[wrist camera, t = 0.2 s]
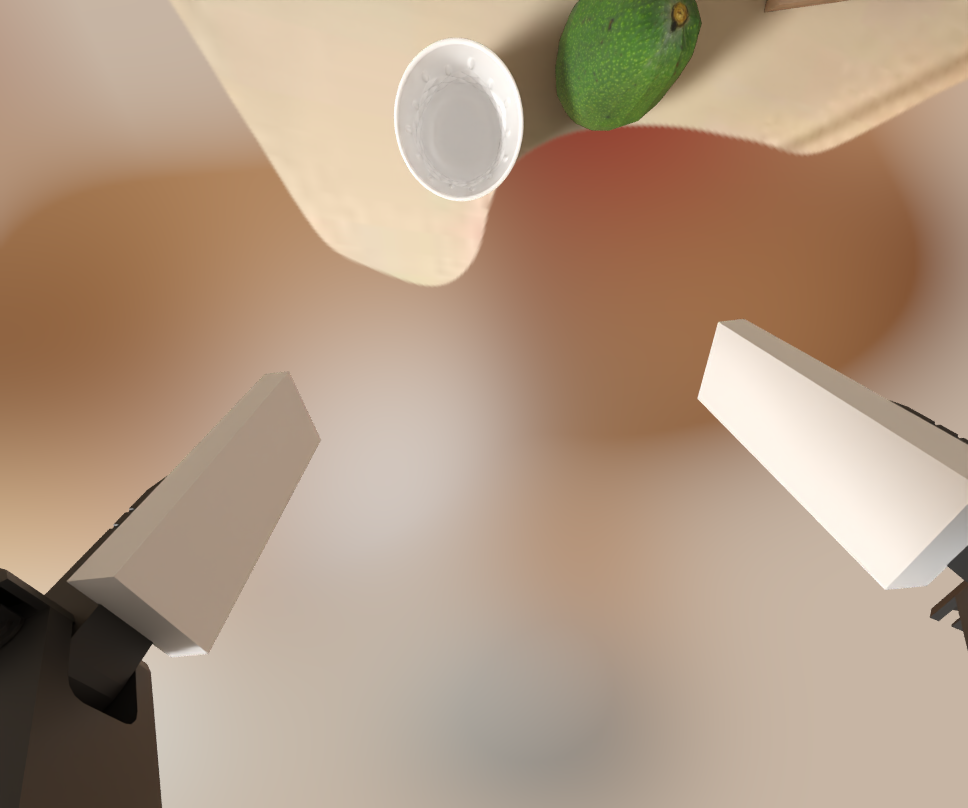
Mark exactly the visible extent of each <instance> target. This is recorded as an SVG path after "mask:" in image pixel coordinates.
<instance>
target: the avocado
mask: <svg viewBox="0 0 968 808" xmlns="http://www.w3.org/2000/svg"><path fill="white" fill-rule="evenodd" d="M701 24H702V23H701V19H700V15H699V11H698V7H697V3H696V1H695V0H579V1H578V2H577V3H576V5H575V6H574V8H573V10H572V11H571V13H570V15H569V18H568V20H567V23H566V26H565V28H564V31H563V33H562V36H561V38H560V41H559V48H558V54H557V60H556V66H555V74H556V90H557V96H558V98H559V100H560V102H561V104H562V106H563V108H564V110H565V112H566V113H567V114H568V116H569V117H570V118H571V119H572V120H573V121H574V122H575V123H576V124H579V125H581V126H583V127H585V128H588V129H590V130H612V129H615V128H618V127H621V126H624V125H627V124H630V123H633V122H636V121H638V120H639V119H641V118H642V117H643V116H644V115H645V114H646V113H647V112H649V111H650V110H651V109H652V108H653V107H654V106H656V105H657V103H658V102H659V101H660V100H661V99H662V98H663V96H664V95H665V94H666V92H667V91H668V90H669V89H670V87H671V86H672V85H673V83H674V82H675V81H676V80H677V79H678V77H679V76H680V74H681V73H682V71H683V70H684V68H685V66H686V65H687V63H688V62H689V60H690V59H691V57H692V55H693V52H694V49H695V45H696V42H697V38H698V34H699V31H700V27H701Z"/></svg>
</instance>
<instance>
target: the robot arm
mask: <svg viewBox="0 0 968 808" xmlns="http://www.w3.org/2000/svg"><path fill="white" fill-rule="evenodd" d="M698 399H699V401H700V402H701V403H702V404H703V405H704V406H705V407H706V408H707V409H708V410H709V411H710V412H711V413H712V414H713V415H714V416H715V417H716V418H717V419H718V420H719V421H720V422H721V423H722V424H723V425H724V426H725V427H726V428H727V429H728V430H729V431H730V432H731V433H732V434H733V435H734V436H735V437H736V438H737V439H738V440H739V441H740V442H741V443H742V444H743V445H744V446H745V447H746V448H747V449H748V451H750V452H751V454H753V456H754V457H755V458H756V459H757V460H758V461H759V462H760V463H761V464H762V465H763V466H764V467H765V468H766V469H767V470H768V471H769V472H770V473H771V474H772V475H773V476H774V477H775V478H776V479H777V480H778V481H779V482H780V483H781V484H782V485H783V486H784V487H785V488H786V489H787V490H788V491H789V492H790V493H791V494H792V495H793V496H794V497H795V498H796V499H797V500H798V501H799V502H800V504H801V505H802V506H803V507H804V508H805V509H806V510H807V511H808V512H809V513H810V514H811V515H812V516H813V517H814V518H815V519H816V520H817V521H818V522H819V523H820V524H821V525H822V526H823V527H824V528H825V529H826V530H827V531H828V532H829V533H830V534H831V535H832V536H833V537H834V538H835V539H836V540H837V541H838V542H839V543H840V544H841V545H842V546H843V547H844V548H845V549H846V550H847V551H848V552H849V554H850V555H851V556H852V557H853V558H854V559H855V560H856V561H857V562H858V563H859V564H860V565H861V566H862V567H863V568H864V569H865V570H866V571H867V572H868V573H869V574H870V575H871V576H872V577H873V578H874V579H875V580H876V581H877V582H878V583H879V584H880V585H881V586H882V587H883V588H884V589H885V590H887V589H899V588H909V587H920V586H927V585H928V584H929V583H930V582H931V581H932V580H933V579H934V578H936V577H937V576H938V575H939V574H940V573H941V572H942V571H943V570H944V569H945V568H946V567H947V566H948V567H949V568H950V569H952V570H953V571H954V572H955V573H956V574H958V575H959V576H960V577H961V578H962V579H964V581H963V582H962V583H961V584H960V585H958V586H957V587H956V588H955V589H954V590H953V591H952V592H950V593H949V594H948V595H947V596H946V597H945V598H944V599H942V600H941V601H940V602H939V603H938V604H936V605H935V606H934V607H933V608H932V609H931V614H930V618H932V619H935V620H937V621H939V620H941V619H942V618H943V617H944V616H945V615H947V614H948V613H949V612H951V611H952V610H957V611H959V616H960V618H959V619H957V620H956V621H955V622H954V623H953V624H952V627H954V628H957V629H959V630H961V631H963V632H964V637H965V641H966V645H967V649H968V440H967V439H965V438H958V434H956V433H954V432H952V431H950V430H949V429H947V428H945V427H943V426H942V425H935V422H934V421H932V420H931V419H929V418H927V417H925V416H923V415H922V414H920V413H918V412H916V411H914V410H913V409H911V408H909V407H907V406H904V405H901V404H899V403H896V402H893V401H890V400H888V399H886V398H884V397H882V396H880V395H879V394H877V393H875V392H873V391H871V390H870V389H868V388H866V387H864V386H863V385H861V384H859V383H857V382H855V381H854V380H852V379H850V378H848V377H846V376H845V375H843V374H841V373H839V372H838V371H836V370H834V369H832V368H831V367H828V366H827V365H825V364H823V363H822V362H820V361H818V360H816V359H815V358H813V357H811V356H809V355H807V354H806V353H804V352H802V351H800V350H799V349H797V348H795V347H793V346H791V345H790V344H788V343H786V342H784V341H782V340H781V339H779V338H777V337H775V336H774V335H772V334H770V333H768V332H766V331H765V330H763V329H761V328H759V327H758V326H756V325H754V324H752V323H750V322H749V321H747V320H745V319H740V320H732V321H723V322H718V326H717V329H716V333H715V336H714V340H713V344H712V348H711V351H710V355H709V358H708V362H707V366H706V370H705V373H704V377H703V381H702V385H701V388H700V392H699V395H698ZM320 441H321V439H320V437H319V435H318V432H317V430H316V428H315V426H314V424H313V422H312V420H311V417H310V415H309V413H308V411H307V409H306V407H305V405H304V402H303V400H302V398H301V396H300V394H299V392H298V390H297V388H296V385H295V383H294V381H293V379H292V377H291V375H290V372H280V373H271V374H265V375H263V377H262V378H261V379H260V380H259V381H258V382H257V383H256V384H255V385H254V386H253V387H252V388H251V389H250V390H249V391H248V392H247V393H246V394H245V395H244V396H243V398H242V399H241V400H240V401H239V402H238V403H237V404H236V405H235V406H234V407H233V408H232V409H231V410H230V411H229V412H228V413H227V414H226V415H225V416H224V417H223V418H222V420H220V422H219V423H218V424H217V425H216V426H215V427H214V428H213V429H212V430H211V431H210V432H209V433H208V434H207V435H206V436H205V437H204V438H203V439H202V440H201V442H199V444H198V445H197V446H196V447H195V448H194V449H193V450H192V451H191V452H190V453H189V454H188V455H187V456H186V457H185V458H184V459H183V460H182V461H181V462H180V463H179V464H178V465H177V466H176V468H175V469H174V470H173V471H172V472H171V473H170V474H169V475H168V476H166V477H165V478H163V479H162V480H161V481H159V482H158V483H157V484H155V485H154V486H152V487H151V488H149V489H148V490H147V491H146V492H145V493H144V494H143V495H142V496H141V497H140V498H139V499H138V500H137V501H136V502H135V503H134V504H133V505H132V506H131V507H130V508H129V512H126V513H124V514H123V515H122V516H121V517H120V518H119V519H118V521H117V522H116V523H115V524H114V528H113V529H109V530H108V531H107V532H106V533H105V534H104V535H103V536H102V537H101V538H100V539H99V540H98V541H97V542H96V543H95V544H94V545H93V546H92V547H91V548H90V549H89V550H88V551H87V552H86V553H85V554H84V555H83V556H82V557H81V558H80V559H79V560H78V561H77V562H76V563H75V565H74V566H73V567H72V568H71V569H70V570H69V571H68V572H67V573H66V574H65V575H64V576H63V577H62V578H61V579H60V580H59V581H58V582H57V583H56V584H55V585H54V586H53V587H52V588H51V589H50V590H49V591H48V592H47V593H46V594H45V595H43V594H42V593H40V592H38V591H37V590H35V589H34V588H33V587H31V586H30V585H28V584H27V583H25V582H23V581H22V580H21V579H19V578H18V577H16V576H15V575H13V574H12V573H10V572H8V571H7V570H5V569H1V568H0V808H162V803H161V790H160V778H159V767H158V755H157V742H156V731H155V719H154V706H153V694H152V682H151V672H150V670H149V667H148V665H147V664H146V663H145V662H143V661H142V658H143V657H144V656H145V654H146V652H147V651H148V649H149V648H150V646H151V645H152V644H154V645H155V646H156V647H157V648H159V649H160V650H162V651H163V652H164V653H166V654H167V655H168V656H170V657H179V656H190V655H201V654H208V653H209V652H210V650H211V648H212V646H213V644H214V642H215V640H216V638H217V637H218V635H219V633H220V631H221V629H222V627H223V625H224V623H225V621H226V620H227V618H228V616H229V614H230V612H231V610H232V608H233V606H234V604H235V602H236V601H237V599H238V597H239V595H240V593H241V591H242V589H243V587H244V585H245V583H246V581H247V580H248V578H249V576H250V574H251V572H252V570H253V568H254V566H255V564H256V562H257V561H258V559H259V557H260V555H261V553H262V551H263V549H264V547H265V545H266V544H267V542H268V540H269V538H270V536H271V534H272V532H273V530H274V528H275V526H276V524H277V523H278V521H279V519H280V517H281V515H282V513H283V511H284V509H285V507H286V505H287V504H288V502H289V500H290V498H291V496H292V494H293V492H294V490H295V488H296V487H297V484H298V483H299V481H300V479H301V477H302V475H303V473H304V471H305V469H306V468H307V466H308V464H309V462H310V460H311V458H312V456H313V454H314V452H315V450H316V448H317V447H318V445H319V443H320Z"/></svg>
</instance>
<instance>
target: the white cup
mask: <svg viewBox="0 0 968 808" xmlns="http://www.w3.org/2000/svg"><path fill="white" fill-rule="evenodd" d="M394 124H395V132H396V138H397V142H398V145H399V149H400V151H401V154H402V156H403V159H404V161H405V163H406V164H407V166H408V168H409V169H410V171H411V172H412V174H413V175H414V176H415V178H416V179H417V180H418V181H419V182H420V183H421V184H422V185H423V186H424V187H426V188H427V189H428V190H430V191H431V192H433V193H434V194H436V195H438V196H440V197H443V198H446V199H449V200H454V201H469V200H474V199H477V198H480V197H483V196H485V195H487V194H488V193H490V192H492V191H493V190H494V189H496V188H497V187H498V186H499V185H500V184H501V183H502V182H503V181H504V179H505V178H506V177H507V176H508V174H509V173H510V171H511V170H512V168H513V166H514V164H515V162H516V160H517V157H518V154H519V151H520V148H521V143H522V138H523V128H524V117H523V107H522V102H521V97H520V94H519V91H518V88H517V85H516V83H515V80H514V78H513V76H512V74H511V73H510V71H509V69H508V68H507V66H506V65H505V64H504V62H503V61H502V60H501V59H500V58H499V57H498V56H497V55H496V54H495V53H494V52H493V51H492V50H490V49H489V48H487V47H486V46H484V45H483V44H481V43H479V42H476V41H473V40H470V39H466V38H447V39H442V40H439V41H437V42H434V43H432V44H430V45H429V46H427V47H426V48H424V49H423V50H422V51H421V52H420V53H418V54H417V55H416V57H415V58H414V59H413V60H412V61H411V63H410V64H409V65H408V67H407V69H406V70H405V72H404V74H403V76H402V79H401V81H400V84H399V87H398V90H397V94H396V100H395V108H394Z"/></svg>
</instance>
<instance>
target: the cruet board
mask: <svg viewBox="0 0 968 808" xmlns="http://www.w3.org/2000/svg"><path fill="white" fill-rule="evenodd" d="M840 1H847V0H767V2H766V6H765V10H764V12H769V11H776V10H783V9H791V8H798V7H805V6H812V5H819V4H826V3H833V2H840Z"/></svg>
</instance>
